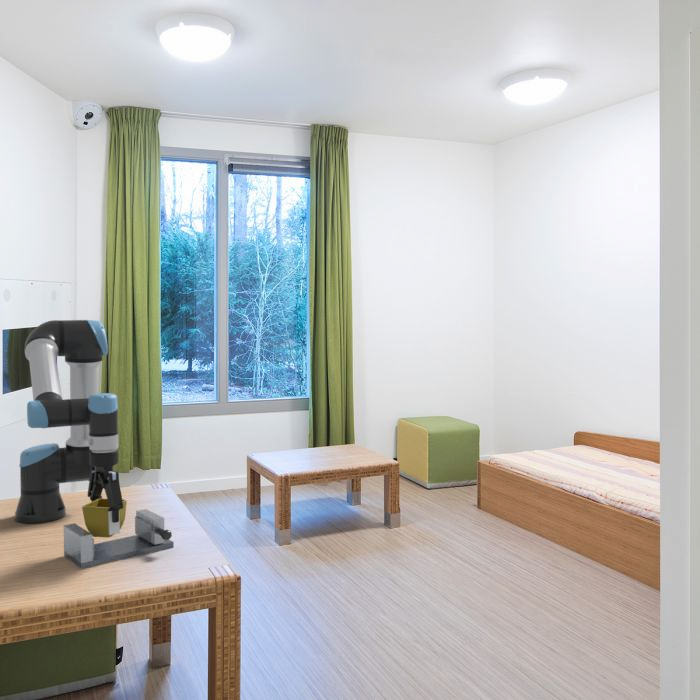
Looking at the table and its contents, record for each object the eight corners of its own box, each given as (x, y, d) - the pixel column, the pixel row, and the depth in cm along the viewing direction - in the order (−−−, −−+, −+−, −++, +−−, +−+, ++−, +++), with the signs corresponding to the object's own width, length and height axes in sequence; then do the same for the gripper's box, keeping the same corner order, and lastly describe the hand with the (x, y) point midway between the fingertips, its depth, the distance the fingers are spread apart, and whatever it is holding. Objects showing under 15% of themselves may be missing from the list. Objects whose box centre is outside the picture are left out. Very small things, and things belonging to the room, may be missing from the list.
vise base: (64, 556, 189) (63, 525, 189) (153, 536, 206) (153, 508, 206) (81, 568, 179) (80, 536, 179) (173, 547, 196) (173, 517, 196)
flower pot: (81, 539, 186) (81, 506, 186) (99, 529, 195) (99, 497, 194) (111, 541, 184) (110, 507, 184) (128, 531, 193) (127, 499, 193)
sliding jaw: (134, 535, 201) (134, 511, 201) (146, 532, 204) (145, 509, 204) (161, 550, 188) (161, 525, 188) (174, 547, 190) (173, 522, 190)
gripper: (74, 446, 195) (75, 521, 196) (107, 458, 177) (109, 541, 178) (100, 442, 200) (102, 516, 201) (135, 454, 182) (136, 535, 183)
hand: (105, 528), depth 189 cm, fingers closed on flower pot, 12 cm apart
